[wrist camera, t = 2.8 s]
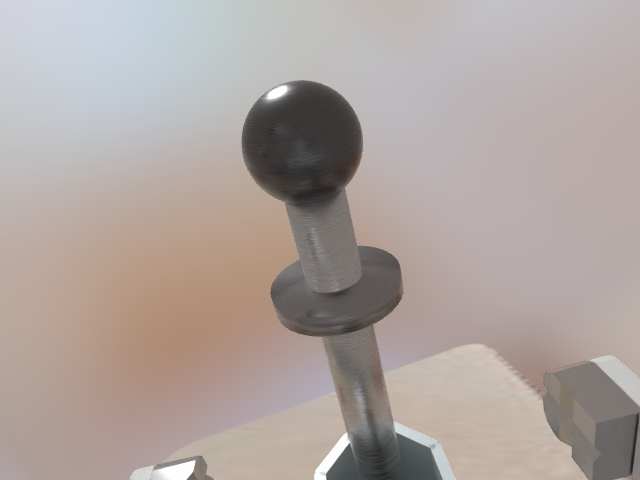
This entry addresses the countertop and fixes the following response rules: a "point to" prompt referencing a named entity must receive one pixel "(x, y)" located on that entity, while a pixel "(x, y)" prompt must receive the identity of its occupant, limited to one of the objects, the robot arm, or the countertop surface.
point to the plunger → (329, 255)
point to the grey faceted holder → (415, 450)
